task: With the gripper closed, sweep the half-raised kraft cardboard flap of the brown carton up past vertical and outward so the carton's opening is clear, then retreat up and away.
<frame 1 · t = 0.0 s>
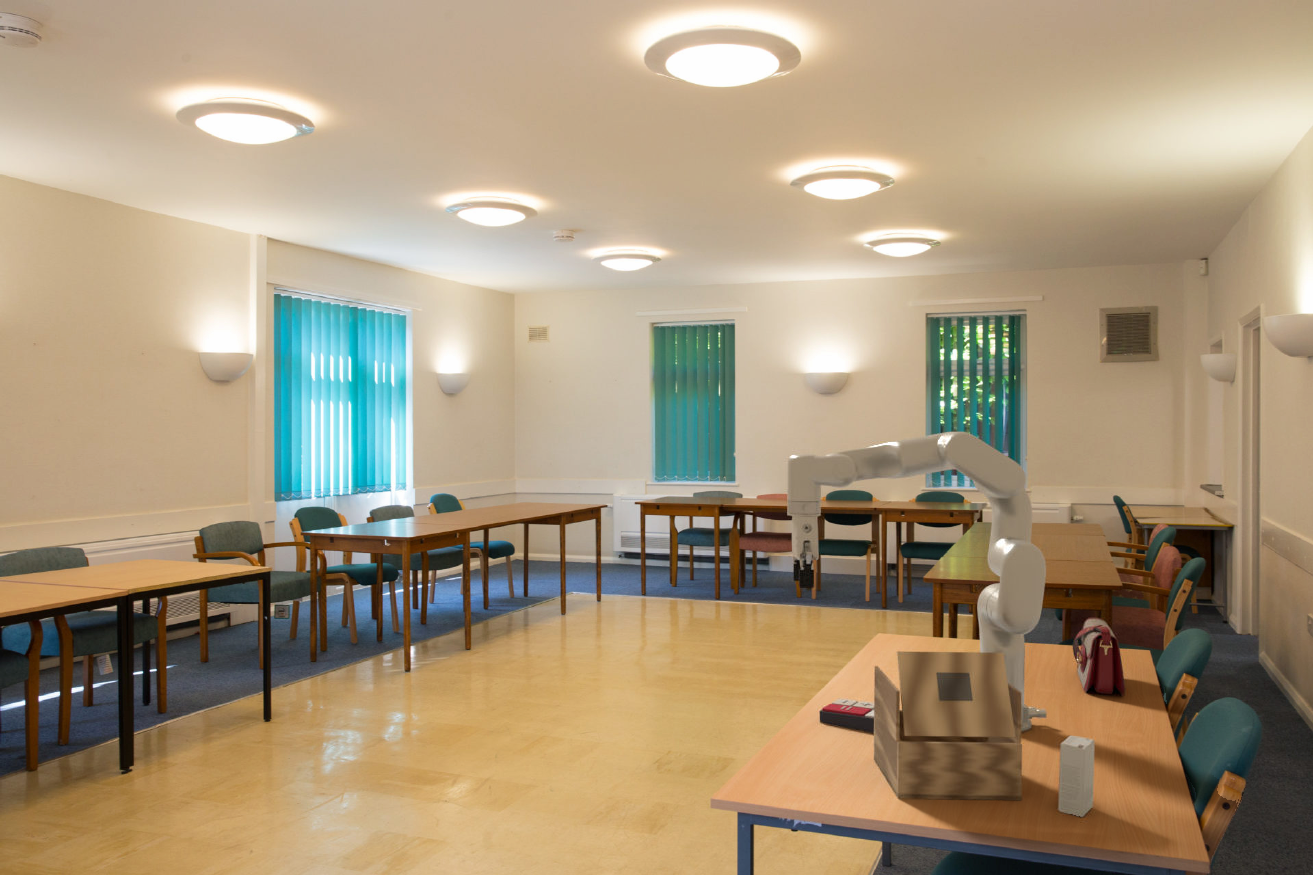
hand: (803, 584, 210), 31 cm above the table, fingers open, 9 cm apart
handbag: (1097, 685, 244), on the table
carton: (943, 778, 175), on the table
carton flap: (954, 693, 169), point 18 cm above the table, hinge at 65.0°
skincare box: (1076, 811, 161), on the table
calculator: (859, 724, 210), on the table
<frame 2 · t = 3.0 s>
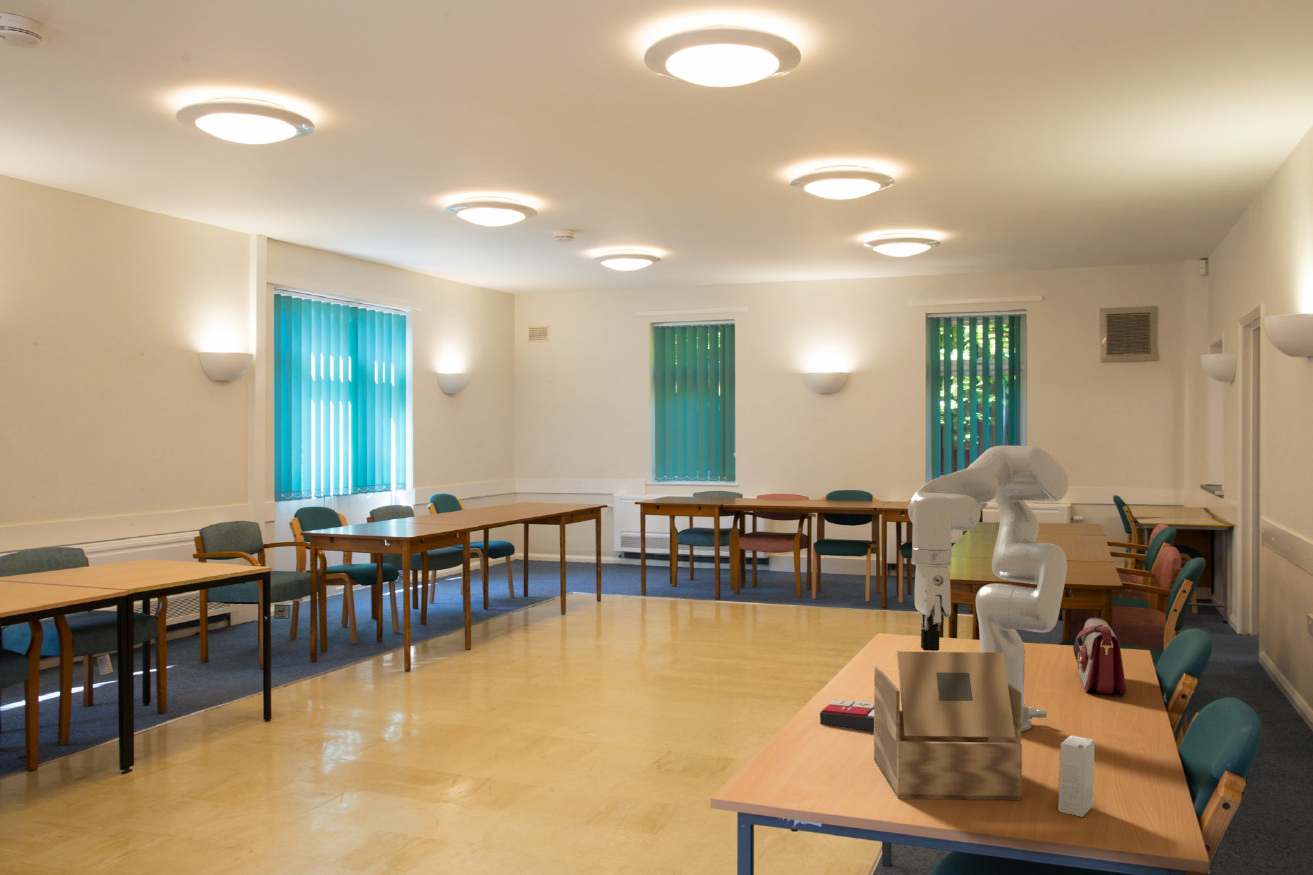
hand: (929, 649, 184), 23 cm above the table, fingers closed
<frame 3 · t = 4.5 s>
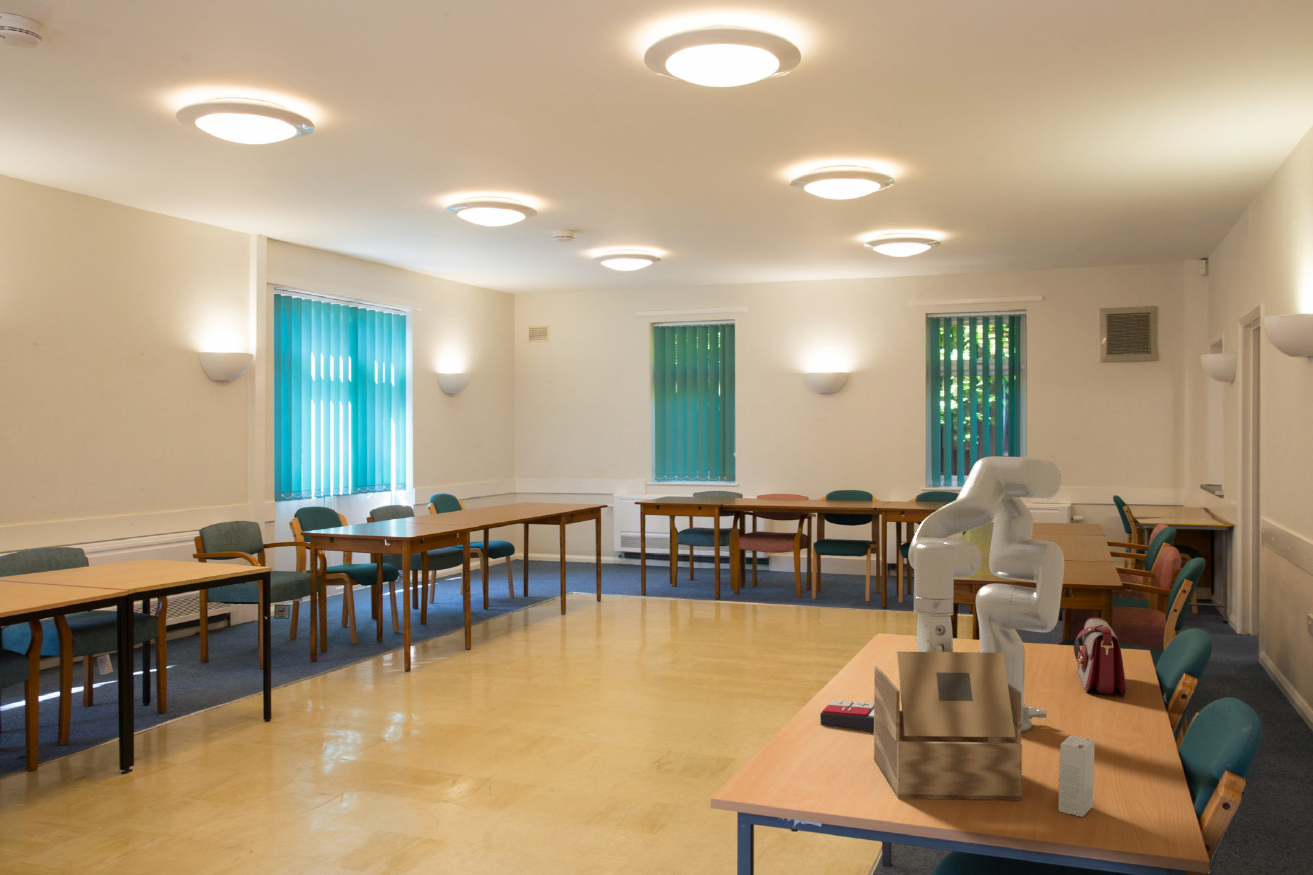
hand: (932, 697, 183), 13 cm above the table, fingers closed
nothing on the table moved.
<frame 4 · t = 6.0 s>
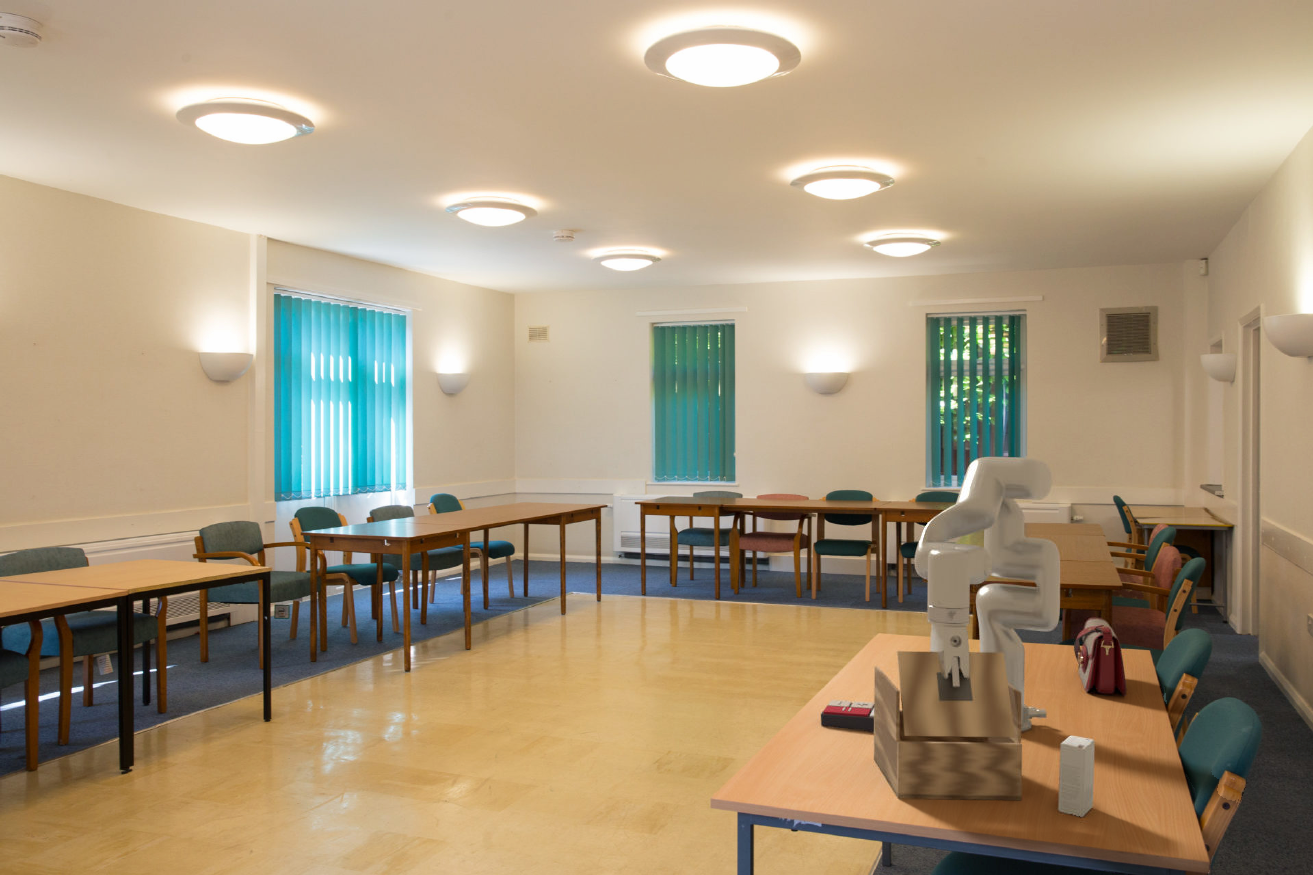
hand: (947, 712, 173), 13 cm above the table, fingers closed
carton flap: (954, 693, 169), point 18 cm above the table, hinge at 65.6°, touching gripper
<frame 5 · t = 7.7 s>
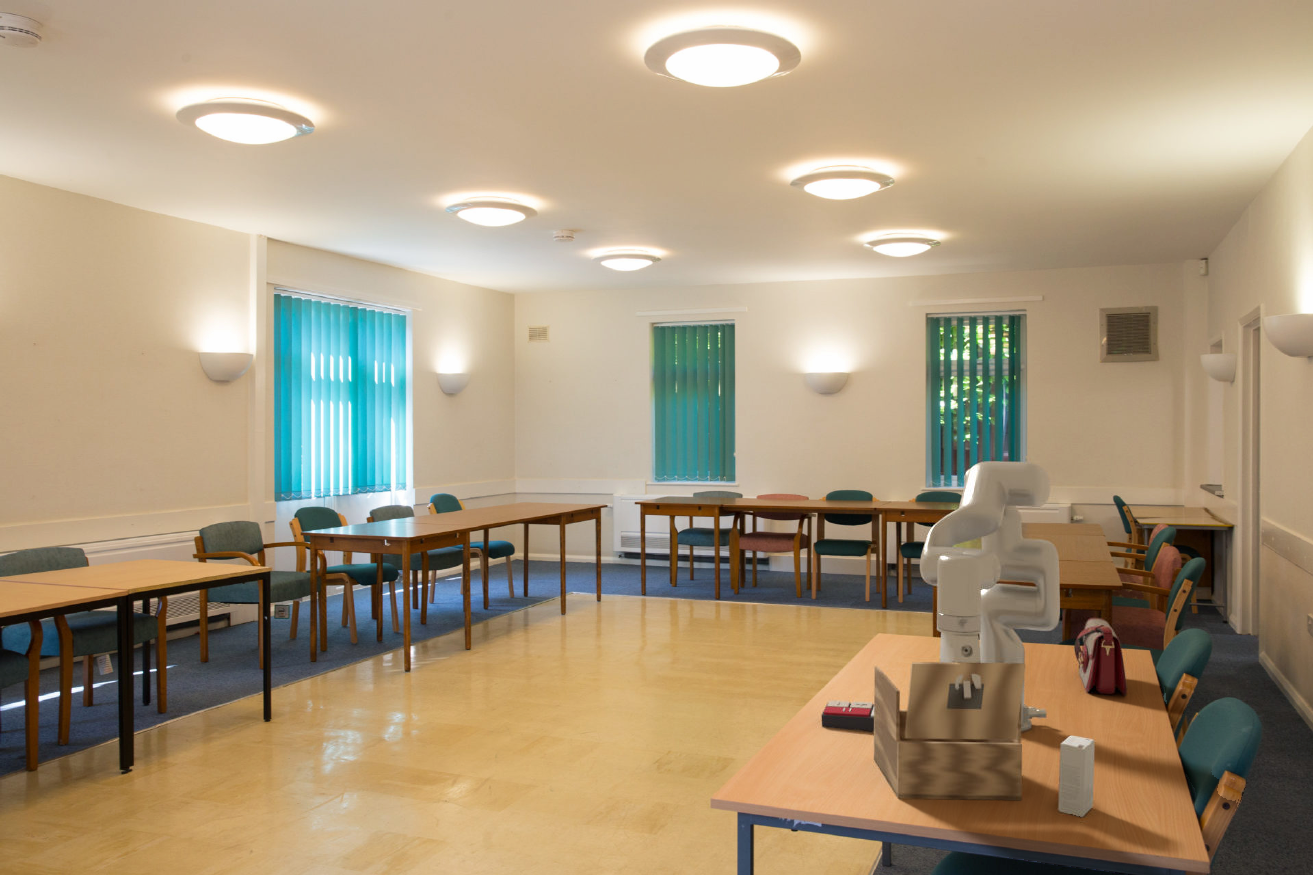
hand: (958, 723, 167), 13 cm above the table, fingers closed
carton flap: (964, 701, 163), point 18 cm above the table, hinge at 106.4°, touching gripper
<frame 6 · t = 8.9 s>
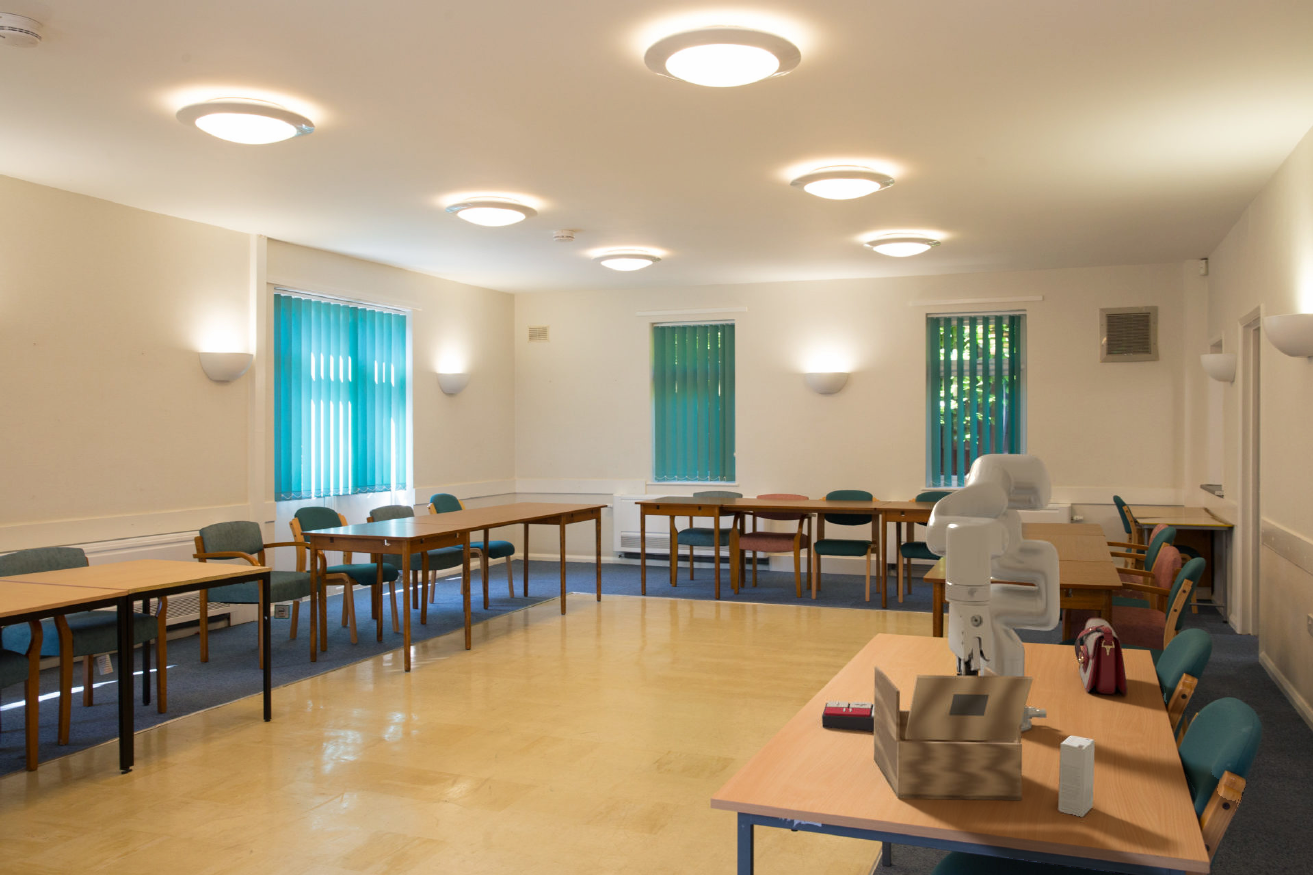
hand: (967, 696, 162), 19 cm above the table, fingers closed
carton flap: (967, 708, 162), point 17 cm above the table, hinge at 120.0°, touching gripper
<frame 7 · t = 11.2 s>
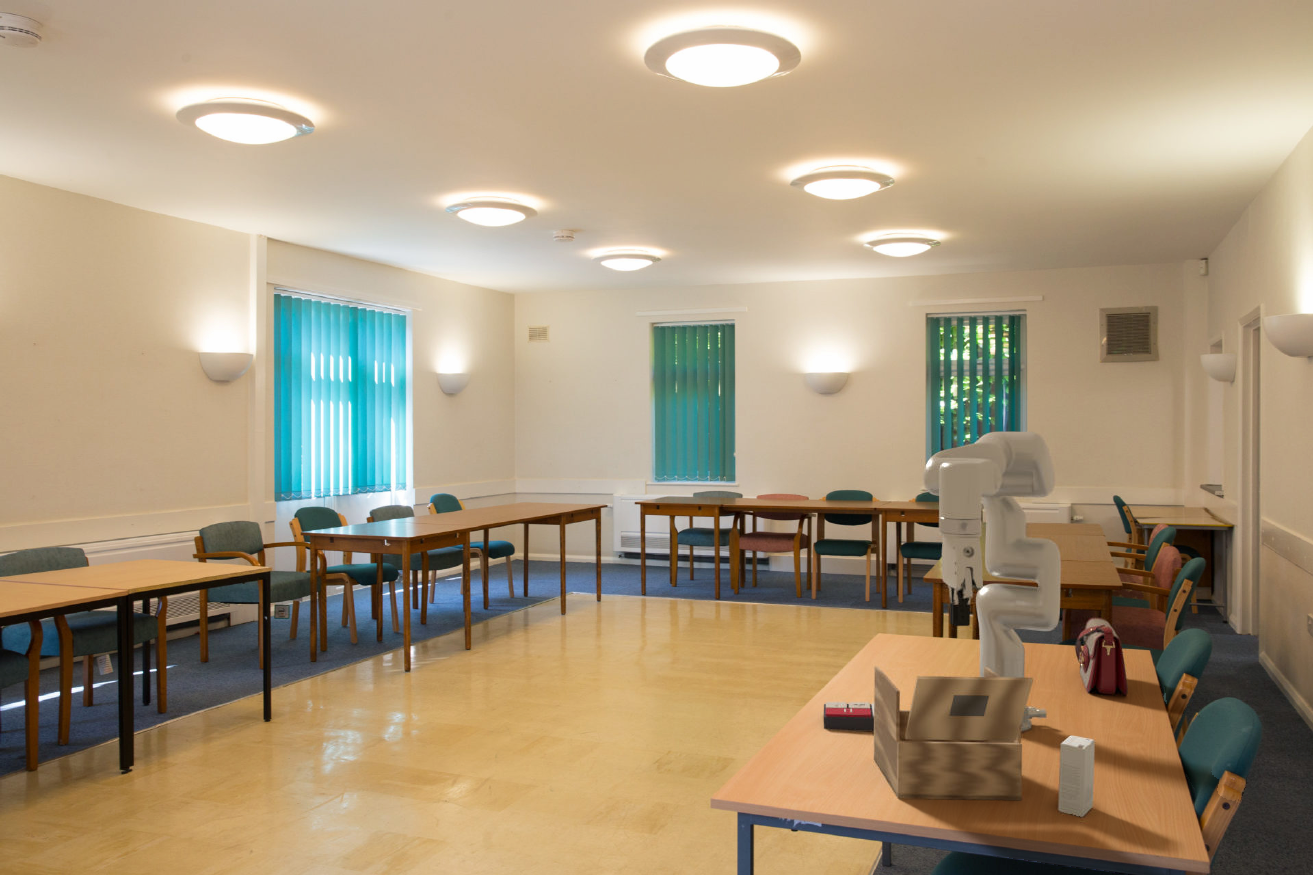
hand: (959, 624, 173), 30 cm above the table, fingers closed
carton flap: (967, 709, 162), point 17 cm above the table, hinge at 120.9°
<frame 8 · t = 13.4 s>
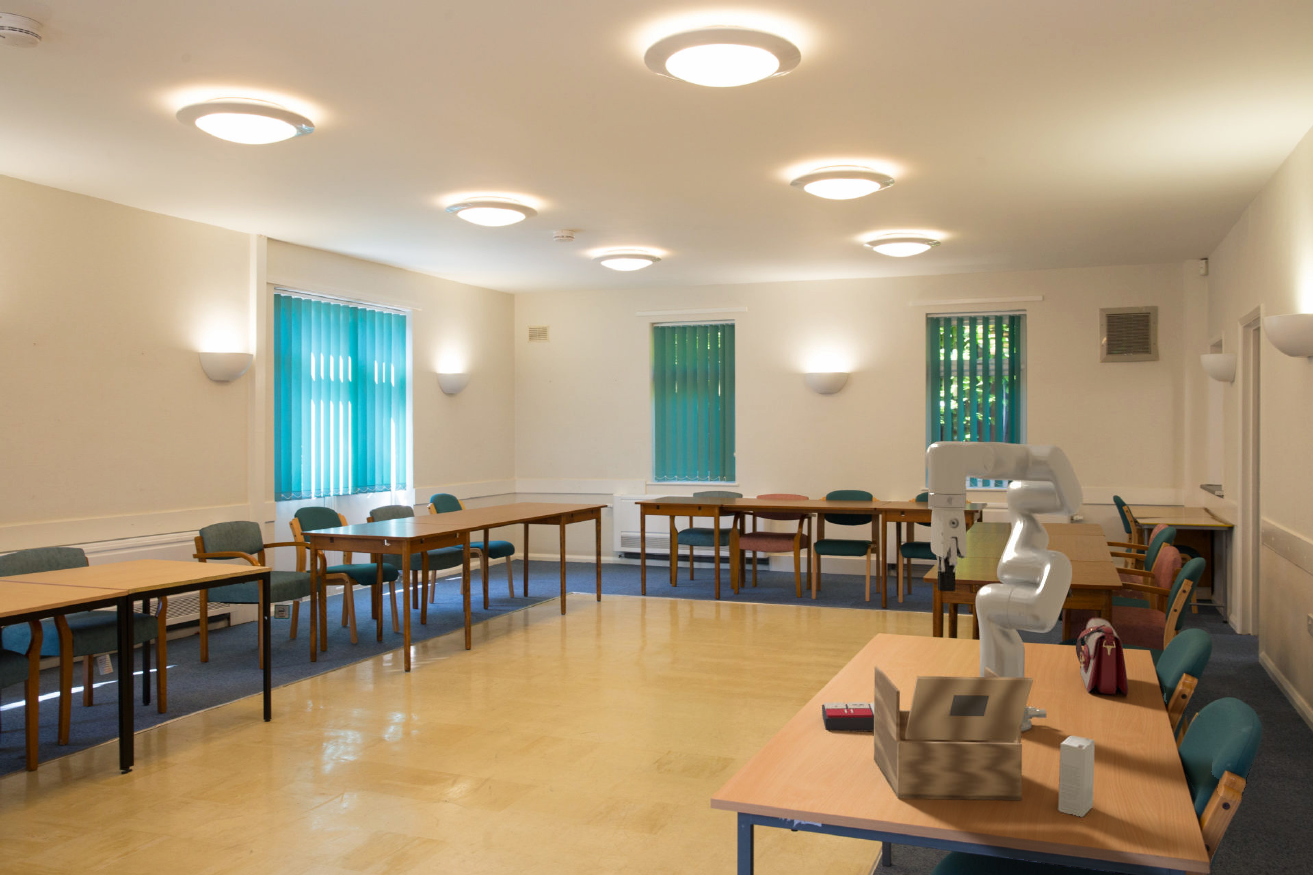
hand: (946, 590, 191), 33 cm above the table, fingers closed
at the end: carton flap at +121° (first picture: +65°) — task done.
